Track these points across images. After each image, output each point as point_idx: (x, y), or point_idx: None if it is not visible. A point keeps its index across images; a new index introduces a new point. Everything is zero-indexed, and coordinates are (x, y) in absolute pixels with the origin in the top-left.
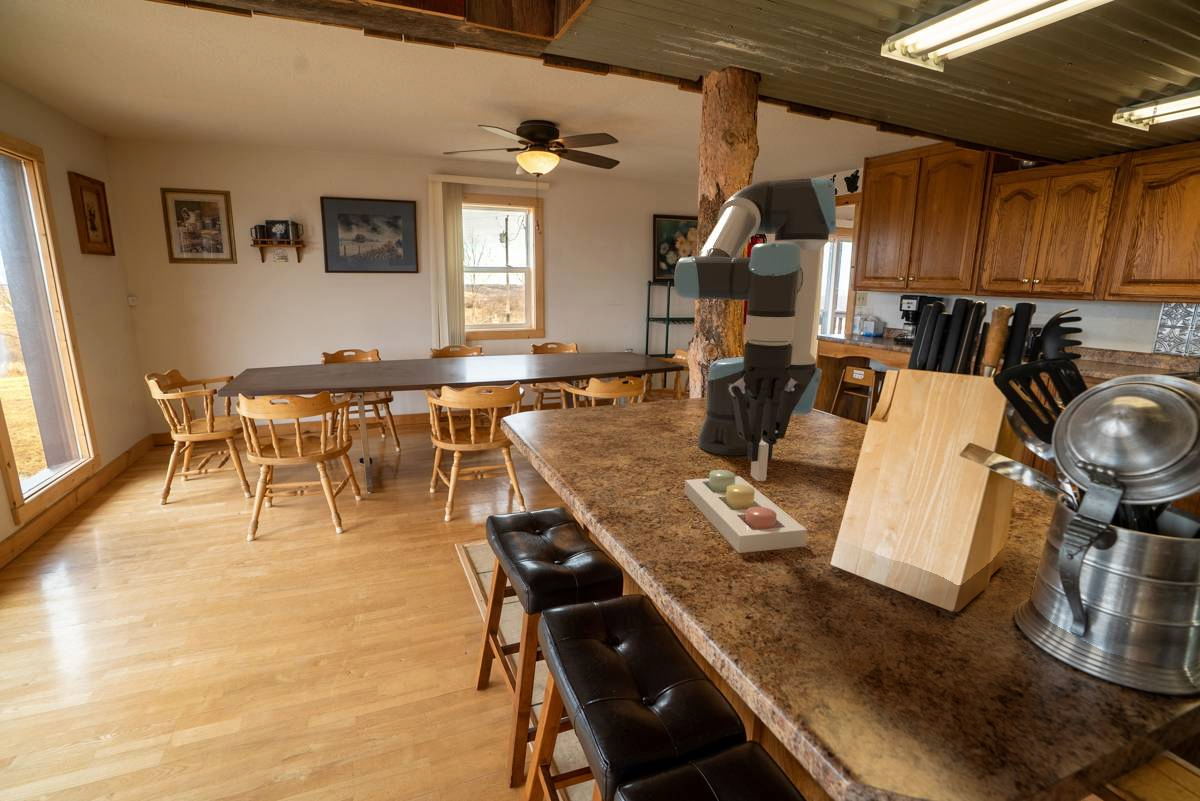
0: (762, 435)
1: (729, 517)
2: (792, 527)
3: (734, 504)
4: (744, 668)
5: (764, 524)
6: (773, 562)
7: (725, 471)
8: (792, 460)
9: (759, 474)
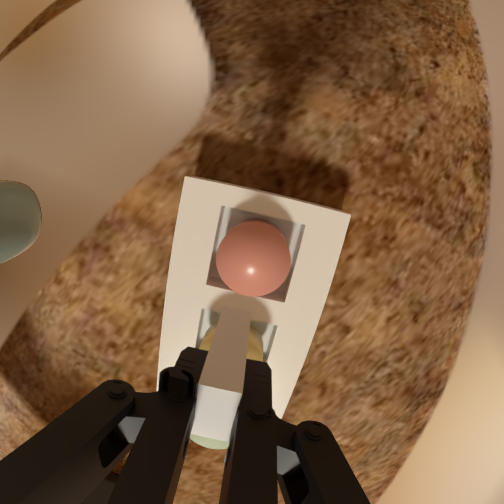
0: (187, 442)
1: (308, 298)
2: (208, 197)
3: (259, 339)
4: (474, 21)
5: (270, 226)
6: (302, 151)
7: (197, 438)
8: (38, 419)
9: (246, 322)
